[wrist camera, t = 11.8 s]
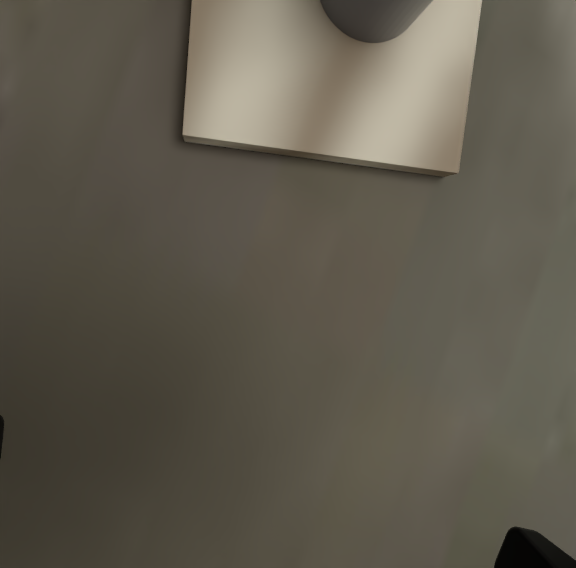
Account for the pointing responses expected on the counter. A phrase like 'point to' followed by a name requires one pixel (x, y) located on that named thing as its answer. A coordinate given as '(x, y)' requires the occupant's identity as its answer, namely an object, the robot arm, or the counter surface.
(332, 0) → the white-capped grey cylinder
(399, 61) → the birch board
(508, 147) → the counter surface
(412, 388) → the counter surface
